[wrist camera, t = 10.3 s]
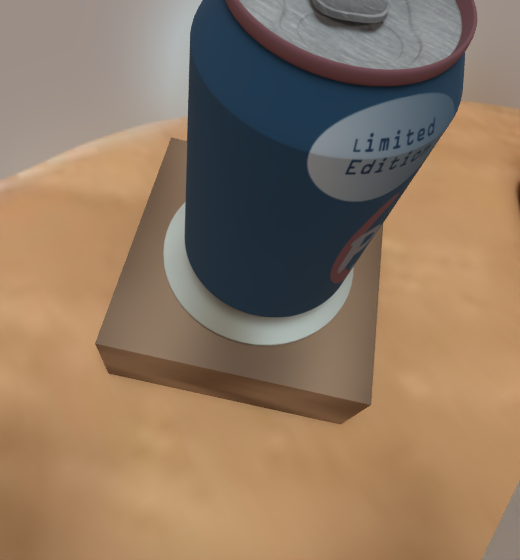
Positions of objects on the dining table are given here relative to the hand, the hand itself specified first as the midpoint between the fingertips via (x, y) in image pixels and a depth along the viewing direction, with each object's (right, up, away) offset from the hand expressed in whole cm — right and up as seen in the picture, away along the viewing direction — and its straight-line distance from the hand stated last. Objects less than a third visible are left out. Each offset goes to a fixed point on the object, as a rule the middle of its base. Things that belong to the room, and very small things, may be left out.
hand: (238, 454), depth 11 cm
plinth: (0, +3, +14) cm, 14 cm away
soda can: (+1, +5, +10) cm, 11 cm away
